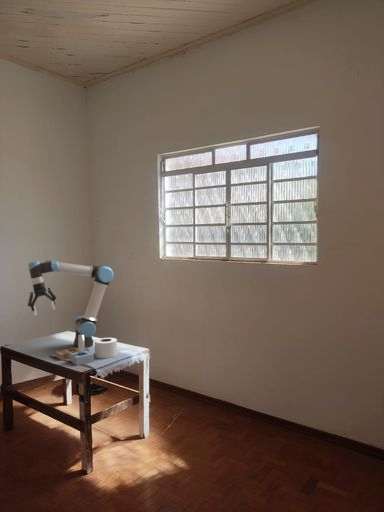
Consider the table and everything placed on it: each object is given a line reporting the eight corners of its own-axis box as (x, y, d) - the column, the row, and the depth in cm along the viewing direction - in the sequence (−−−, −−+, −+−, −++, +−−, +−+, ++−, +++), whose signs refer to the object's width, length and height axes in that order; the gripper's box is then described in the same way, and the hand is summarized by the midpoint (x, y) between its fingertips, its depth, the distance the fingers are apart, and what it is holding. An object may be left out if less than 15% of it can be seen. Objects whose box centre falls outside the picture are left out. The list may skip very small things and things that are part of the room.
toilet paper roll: (90, 355, 262) (90, 340, 262) (108, 350, 274) (108, 336, 274) (103, 359, 252) (103, 344, 252) (121, 354, 264) (121, 339, 263)
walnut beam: (83, 351, 272) (82, 346, 272) (88, 354, 264) (88, 349, 264) (55, 357, 259) (55, 351, 259) (61, 360, 251) (61, 354, 251)
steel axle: (83, 359, 252) (82, 333, 251) (85, 361, 249) (85, 335, 248) (77, 361, 249) (77, 334, 249) (80, 362, 246) (79, 336, 246)
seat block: (86, 357, 258) (86, 350, 258) (94, 361, 249) (93, 354, 248) (69, 361, 250) (69, 353, 250) (77, 365, 241) (76, 357, 241)
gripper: (52, 279, 271) (58, 307, 272) (18, 287, 252) (25, 317, 254) (57, 278, 266) (63, 307, 267) (22, 287, 247) (29, 317, 249)
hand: (44, 312), depth 260 cm, fingers open, 13 cm apart
